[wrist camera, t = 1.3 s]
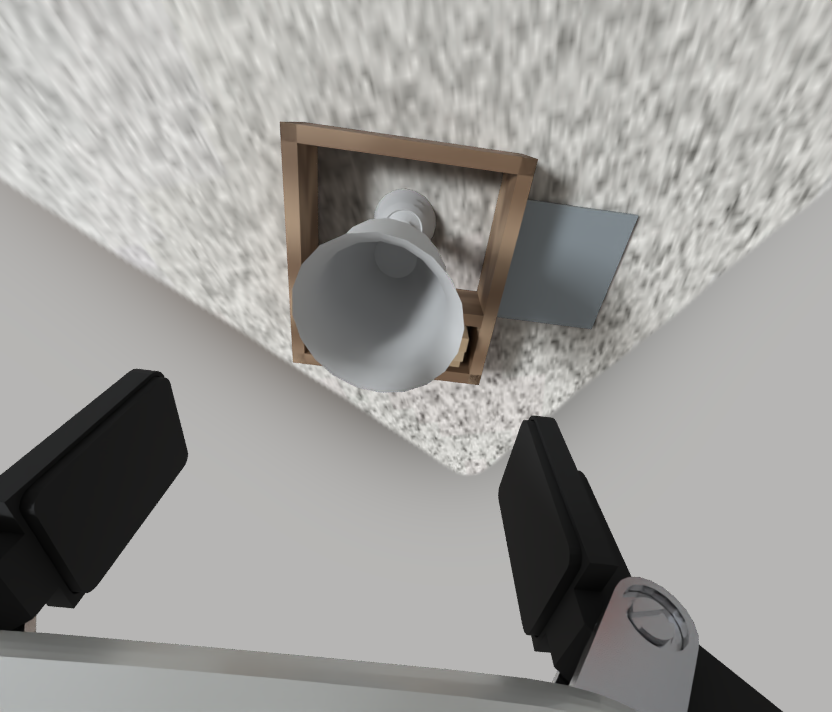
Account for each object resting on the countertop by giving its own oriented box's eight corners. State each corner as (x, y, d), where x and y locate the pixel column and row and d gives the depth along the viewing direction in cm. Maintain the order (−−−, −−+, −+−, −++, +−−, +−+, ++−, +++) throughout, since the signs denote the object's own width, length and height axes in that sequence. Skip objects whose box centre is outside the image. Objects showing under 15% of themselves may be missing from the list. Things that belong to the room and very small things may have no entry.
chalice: (343, 206, 30) (253, 291, 15) (415, 154, 28) (396, 191, 13) (395, 280, 33) (365, 415, 18) (463, 238, 31) (495, 350, 16)
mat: (523, 199, 29) (524, 199, 29) (636, 214, 30) (638, 215, 29) (494, 314, 35) (494, 316, 34) (589, 327, 35) (591, 329, 35)
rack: (303, 122, 27) (279, 121, 23) (521, 153, 28) (538, 159, 24) (309, 334, 36) (293, 362, 32) (473, 354, 37) (478, 385, 33)
